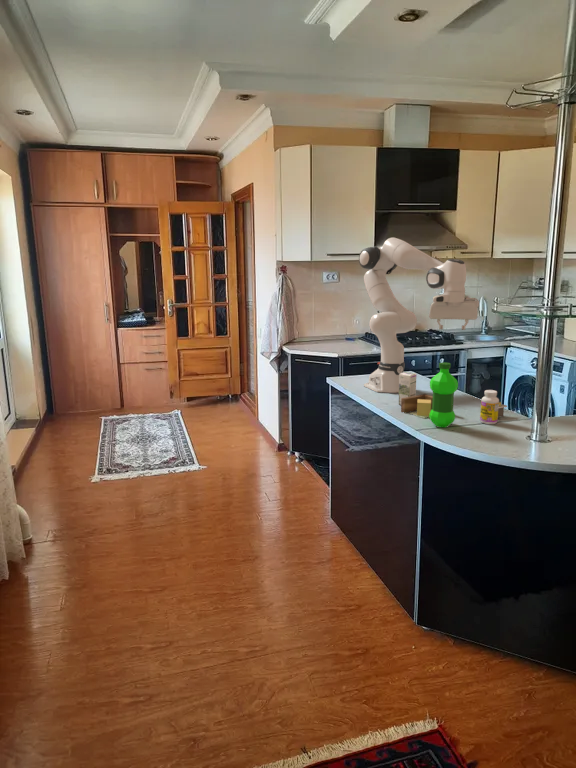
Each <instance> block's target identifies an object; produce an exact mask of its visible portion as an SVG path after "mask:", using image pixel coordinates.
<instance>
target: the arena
mask: <svg viewBox="0 0 576 768" xmlns="http://www.w3.org/2000/svg"><path fill="white" fill-rule="evenodd" d="M418 399H424V400H431V410H432V401H433V395H430V394H426V393H421V394H416V396H411V397H406V398H401V405H400V412H401V413H403V412H404V414H405V412H406V413H411V412H416V411H417V401H418ZM415 410H416V411H415ZM410 411H411V412H410Z"/></svg>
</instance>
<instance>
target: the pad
mask: <svg viewBox="0 0 576 768" xmlns="http://www.w3.org/2000/svg"><path fill="white" fill-rule="evenodd" d="M409 414H410V415H412V414H413V415H412V416H415V417H417V418H421V419H428V418H430V417H429V416H422V415H417V411H412V412H409ZM427 417H428V418H427Z"/></svg>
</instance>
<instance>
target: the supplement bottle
mask: <svg viewBox="0 0 576 768" xmlns="http://www.w3.org/2000/svg"><path fill="white" fill-rule="evenodd" d="M497 395H498V391H497V390H493V389H486V390H484V396H483V397H482V398H481V401H480V415H479V421H480V423H482V424H486V425H495V424H497V423H498V419H499V417H498V408H499V402H500V399H499V397H497Z"/></svg>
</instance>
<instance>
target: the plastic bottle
mask: <svg viewBox="0 0 576 768" xmlns="http://www.w3.org/2000/svg"><path fill="white" fill-rule="evenodd" d="M451 366H452V365H451V363H450V362H444V361H443V362H438V368H439V372H438V373H436V374H435V375H434V376H432V378H431V379H430V381H429V388H430V390H431V391H432V396H433V401H432V410H431V412H430V414H429V417H428V418H429V420H430V421H431V423H432V424H433V425H434V426H435V425H436V426H435V427H437V426H438V428H448V427H449V426H450V425H451V424H453V423H454V421H455V419H456V414H455V412H454V401H455V400H454V396H455V392H456V391H458V388H459V382H458V380H457V378H455V377H454V375H452V373H450V369H451ZM447 426H448V427H447Z"/></svg>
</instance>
